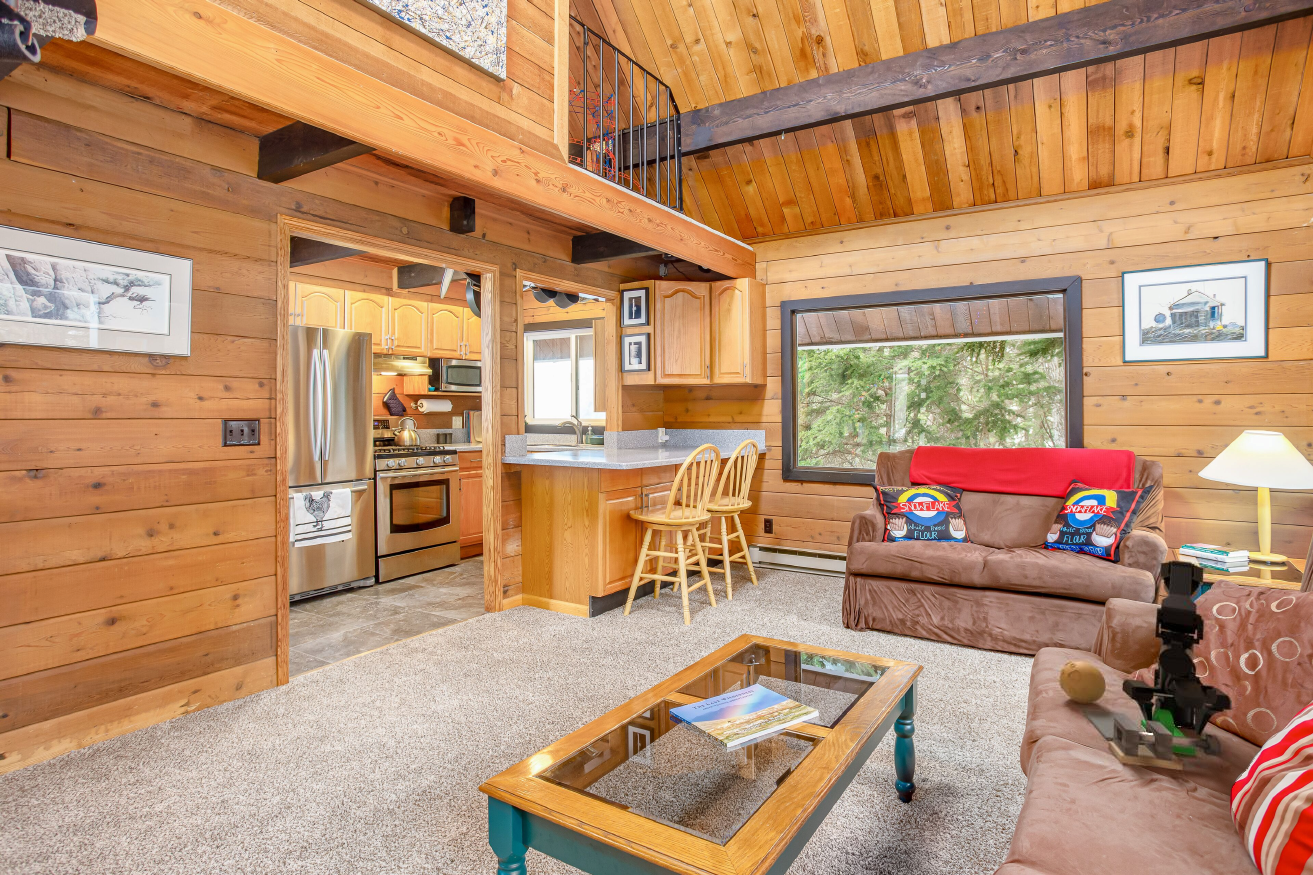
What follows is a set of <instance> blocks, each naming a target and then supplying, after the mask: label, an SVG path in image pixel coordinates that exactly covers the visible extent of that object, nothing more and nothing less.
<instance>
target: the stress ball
mask: <svg viewBox="0 0 1313 875" xmlns="http://www.w3.org/2000/svg"><path fill="white" fill-rule="evenodd" d="M1058 683H1059V685H1060V688H1061V690H1063V692H1064V693H1065V694H1066V696H1068V697H1069V698H1070V699H1072V700H1074V701H1075V702H1076V703H1078V704H1081V703H1083V704H1082V705H1087V704H1086V703H1088V704H1090V703H1091V704H1092V703H1094V702H1097V701H1099V700H1100V699H1101V698H1103V696H1104V695H1105V692H1106V688H1107V684H1106V679H1105V677H1104V675H1103V674H1102V672H1101V671H1100V670H1099V669H1098V668H1097V667H1096V666H1094V665H1093V664H1091V663H1089V662H1085V661H1070V662H1068V663H1066V664H1064V667H1063V668H1062V669H1061V671H1060V674H1059V680H1058Z"/></svg>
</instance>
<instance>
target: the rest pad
mask: <svg viewBox="0 0 1313 875" xmlns="http://www.w3.org/2000/svg"><path fill="white" fill-rule="evenodd" d="M1081 712H1082V714H1083V715H1084V716H1085V717H1086V718H1087V719H1088V721H1089V722H1090V723H1091V724H1092V725H1093V727H1094V728H1095V729H1096V730H1097V731H1098V732H1099V734H1100V735H1101V736H1102V737H1103V738H1104V739H1105V741H1106V740H1107V741H1113V732H1114V717H1119V718H1127V719H1128V720H1129V721H1130V722H1131V723H1132V724H1133V725H1134V726H1135V727H1136V728H1137V729H1138V730H1139V732H1143V731H1142V730H1141V729H1140V728H1139V727H1138V726H1137V725H1136V724H1135V723H1134V722H1133V720H1131V719H1130V717H1128V716H1127V715H1126V714H1125V713H1124V712H1115V711H1108V710H1107V711H1105V710H1097V709H1087V708H1081ZM1142 744H1143V745H1145V743H1143V742H1139V745H1142Z"/></svg>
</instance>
